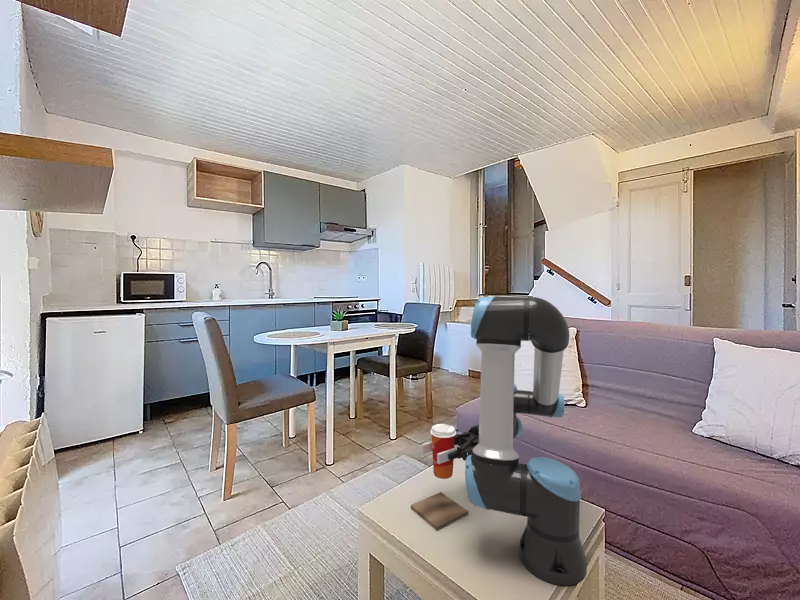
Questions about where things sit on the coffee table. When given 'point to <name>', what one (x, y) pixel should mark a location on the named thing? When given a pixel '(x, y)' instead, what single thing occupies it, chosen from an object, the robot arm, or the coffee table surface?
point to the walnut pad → (439, 510)
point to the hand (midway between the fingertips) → (430, 453)
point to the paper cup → (442, 448)
